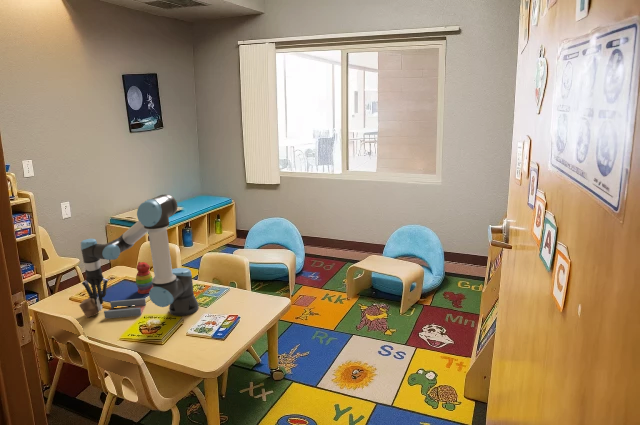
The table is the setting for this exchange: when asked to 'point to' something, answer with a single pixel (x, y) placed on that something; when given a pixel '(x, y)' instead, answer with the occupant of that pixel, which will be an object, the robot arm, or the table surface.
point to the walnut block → (89, 307)
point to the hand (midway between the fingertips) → (100, 309)
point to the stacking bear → (143, 278)
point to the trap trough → (134, 311)
